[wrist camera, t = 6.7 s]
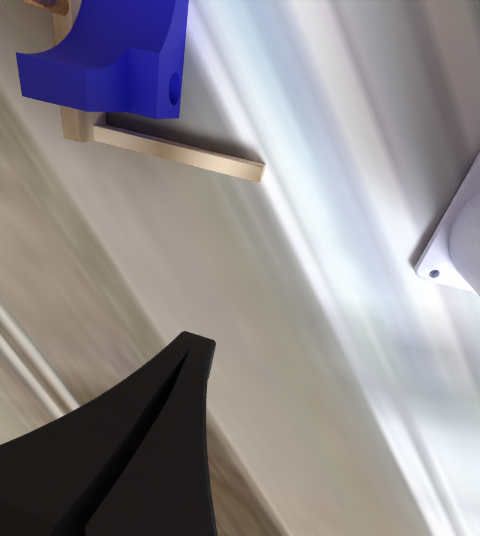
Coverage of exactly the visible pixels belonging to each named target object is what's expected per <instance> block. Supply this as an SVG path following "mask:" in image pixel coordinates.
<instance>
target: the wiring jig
mask: <svg viewBox="0 0 480 536" xmlns="http://www.w3.org/2000/svg"><path fill="white" fill-rule="evenodd" d="M23 1H25V2H27V3H30V4H32V5H35V6H38V7H40V8H43V9H45V10H48V11H51V12H52V17H53V28H54V39H55V46H56V45H58V44H59V43H60V42H61V41H62V40H63V39H64V38H65V37H66V36H67V35H68V33H69V32H70V30H71V28H72V27H73V25H74V23H75V21H76V18H77V16H78V13H79V9H80V6H81V2H82V0H23ZM61 115H62V126H63V137H64V138H66V139H70V140H74V141H78V142H85V141H93V140H94V141H98V142H102V143H106V144H110V145H114V146H118V147H122V148H126V149H130V150H134V151H138V152H141V153H145V154H149V155H153V156H157V157H161V158H165V159H169V160H173V161H177V162H181V163H184V164H188V165H192V166H196V167H200V168H204V169H208V170H212V171H216V172H220V173H224V174H228V175H231V176H235V177H239V178H243V179H247V180H251V181H255V182H260V181H261V180H262V178H263V174H264V170H265V166H266V164H262V163H258V162H254V161H250V160H246V159H242V158H238V157H234V156H230V155H226V154H222V153H218V152H214V151H209V150H205V149H201V148H197V147H193V146H189V145H185V144H181V143H177V142H173V141H169V140H165V139H161V138H157V137H153V136H149V135H145V134H141V133H137V132H133V131H129V130H125V129H121V128H117V127H113V126H109V125H106V112H86V111H82V110H78V109H74V108H70V107H66V106H61Z"/></svg>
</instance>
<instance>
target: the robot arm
mask: <svg viewBox="0 0 480 536" xmlns="http://www.w3.org/2000/svg"><path fill="white" fill-rule="evenodd" d="M433 270H437V272H436V273H435V274H433V275H429V273H430V272H431V271H433ZM414 271H415V274H416V275H417V276H418V277H419V278H421V279H425V280H429V281H432V282H436V283H440V284H443V285H447V286H451V287H454V288H458V289H462V290H465V291H469V292H473V293H476V294H478V295H479V296H480V152H479V154H478V156H477V158H476V159H475V161H474V163H473V165H472V167H471V168H470V170H469V172H468V174H467V175H466V177H465V179H464V181H463V182H462V184H461V186H460V188H459V190H458V191H457V193H456V195H455V197H454V198H453V200H452V202H451V204H450V206H449V207H448V209H447V211H446V213H445V214H444V216H443V218H442V220H441V221H440V223H439V225H438V227H437V229H436V230H435V232H434V234H433V236H432V237H431V239H430V241H429V243H428V244H427V246H426V248H425V250H424V252H423V253H422V255H421V257H420V259H419V260H418V262H417V264H416V266H415V268H414ZM215 346H216V342H215V341H214V340H212V339H209V338H205V337H202V336H199V335H196V334H193V333H190V332H186V331H183V332H181V333H180V334H179V335H178V336H177V337H176V338H175V339H174V340H173V341H172V342H171V343H170V344H169V345H168V346H166V347H165V348H164V349H163V350H162V351H161V352H159V353H158V354H157V355H156V356H155V357H153V358H152V359H151V360H150V361H148V362H147V363H146V364H145V365H143V366H142V367H141V368H139V369H138V370H137V371H135V372H134V373H133V374H131V375H130V376H128V377H127V378H126V379H124V380H123V381H121V382H120V383H118V384H117V385H116V386H114V387H112V388H111V389H109V390H108V391H106V392H105V393H103V394H101V395H100V396H98V397H97V398H95V399H93V400H91V401H90V402H88V403H86V404H84V405H83V406H81V407H79V408H77V409H76V410H74V411H72V412H70V413H68V414H66V415H64V416H62V417H61V418H58V419H56V420H54V421H52V422H50V423H48V424H46V425H44V426H42V427H40V428H38V429H36V430H34V431H32V432H30V433H27V434H25V435H23V436H21V437H18V438H16V439H13V440H11V441H9V442H6V443H4V444H1V445H0V536H218V534H217V529H216V522H215V516H214V509H213V502H212V494H211V487H210V476H209V466H208V456H207V439H206V394H207V381H208V378H209V375H210V370H211V365H212V360H213V356H214V351H215Z"/></svg>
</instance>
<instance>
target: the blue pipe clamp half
mask: <svg viewBox="0 0 480 536" xmlns="http://www.w3.org/2000/svg"><path fill="white" fill-rule="evenodd" d="M188 1H189V0H82V2H81V6H80V9H79V13H78V16H77V18H76V21H75V23H74V25H73V27H72V28H71V30H70V32H69V33H68V35H67V36H66V37H65V38H64V39H63V40H62V41H61V42H60V43H59V44H58V45H56V46H55V47H53V48H52V49H50V50H47V51H45V52H41V53H36V54H23V53H16V57H17V64H18V71H19V78H20V85H21V91H22V96H24V97H28V98H32V99H36V100H41V101H45V102H49V103H53V104H57V105H61V106H66V107H70V108H74V109H78V110H82V111H86V112H129V113H133V114H138V115H142V116H146V117H150V118H154V119H169V118H179V111H180V99H181V87H182V75H183V62H184V50H185V38H186V26H187V13H188Z"/></svg>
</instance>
